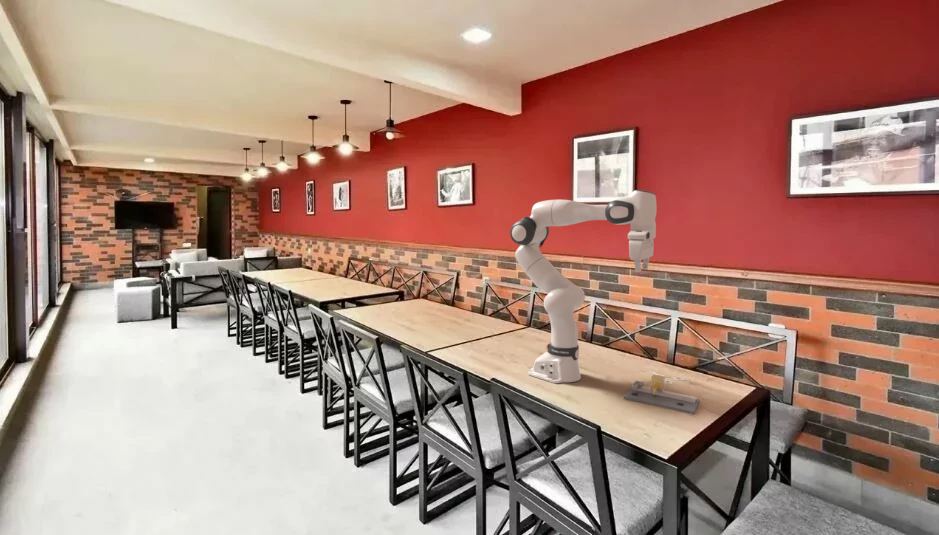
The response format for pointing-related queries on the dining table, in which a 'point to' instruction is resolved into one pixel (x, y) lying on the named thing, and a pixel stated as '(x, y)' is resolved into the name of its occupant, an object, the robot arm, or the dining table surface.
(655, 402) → the plate
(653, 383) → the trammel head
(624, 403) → the dining table surface
